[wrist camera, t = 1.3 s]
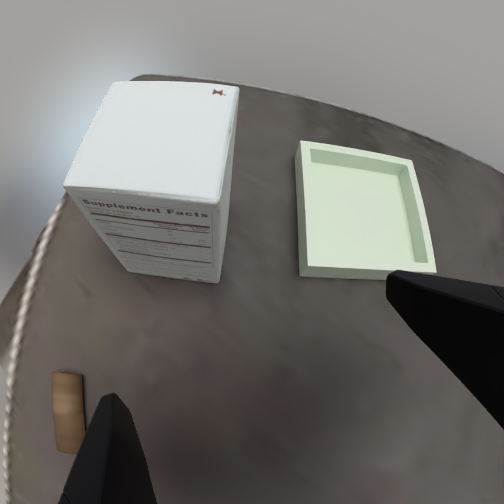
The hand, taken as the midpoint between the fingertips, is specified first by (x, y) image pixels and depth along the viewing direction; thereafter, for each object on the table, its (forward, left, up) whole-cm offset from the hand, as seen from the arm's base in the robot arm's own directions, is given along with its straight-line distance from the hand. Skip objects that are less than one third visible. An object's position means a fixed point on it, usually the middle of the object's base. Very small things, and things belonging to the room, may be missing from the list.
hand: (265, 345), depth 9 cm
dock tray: (+15, -7, -14) cm, 22 cm away
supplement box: (+8, +7, -14) cm, 18 cm away
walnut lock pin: (-8, +10, -14) cm, 19 cm away
